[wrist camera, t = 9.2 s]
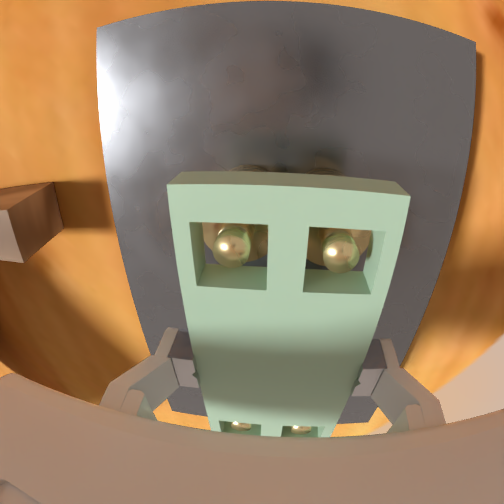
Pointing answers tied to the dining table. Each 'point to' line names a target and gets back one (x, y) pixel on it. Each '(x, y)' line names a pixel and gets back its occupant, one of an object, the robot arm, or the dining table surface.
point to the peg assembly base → (283, 141)
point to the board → (282, 295)
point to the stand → (27, 220)
